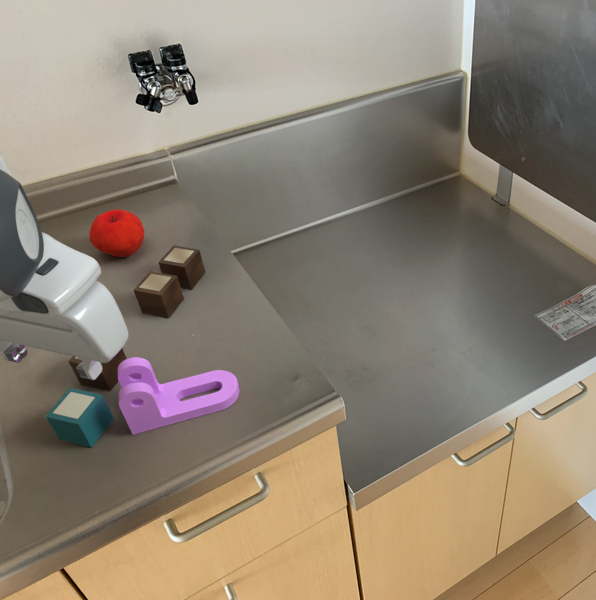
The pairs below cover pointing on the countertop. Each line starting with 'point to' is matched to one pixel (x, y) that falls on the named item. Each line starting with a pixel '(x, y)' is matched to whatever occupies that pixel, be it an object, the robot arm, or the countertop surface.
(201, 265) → the block
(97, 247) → the apple
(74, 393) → the letter block
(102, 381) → the block
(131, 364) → the bracket
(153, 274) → the block
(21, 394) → the countertop surface
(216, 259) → the countertop surface
